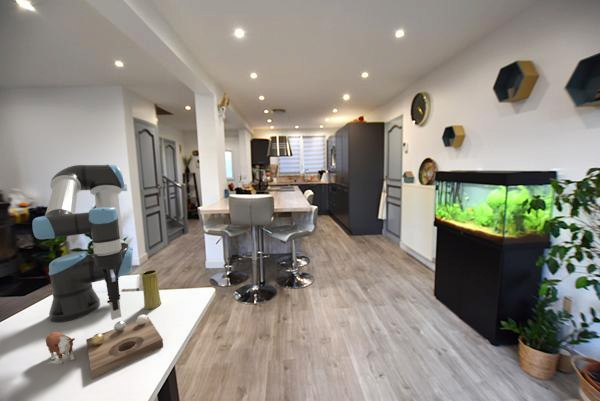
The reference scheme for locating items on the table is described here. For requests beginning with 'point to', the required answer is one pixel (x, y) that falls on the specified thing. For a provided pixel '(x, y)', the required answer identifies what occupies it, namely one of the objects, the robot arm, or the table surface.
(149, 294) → the vase
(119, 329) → the steel ball
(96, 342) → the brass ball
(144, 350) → the board
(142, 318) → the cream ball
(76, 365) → the table surface
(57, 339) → the bull figurine
